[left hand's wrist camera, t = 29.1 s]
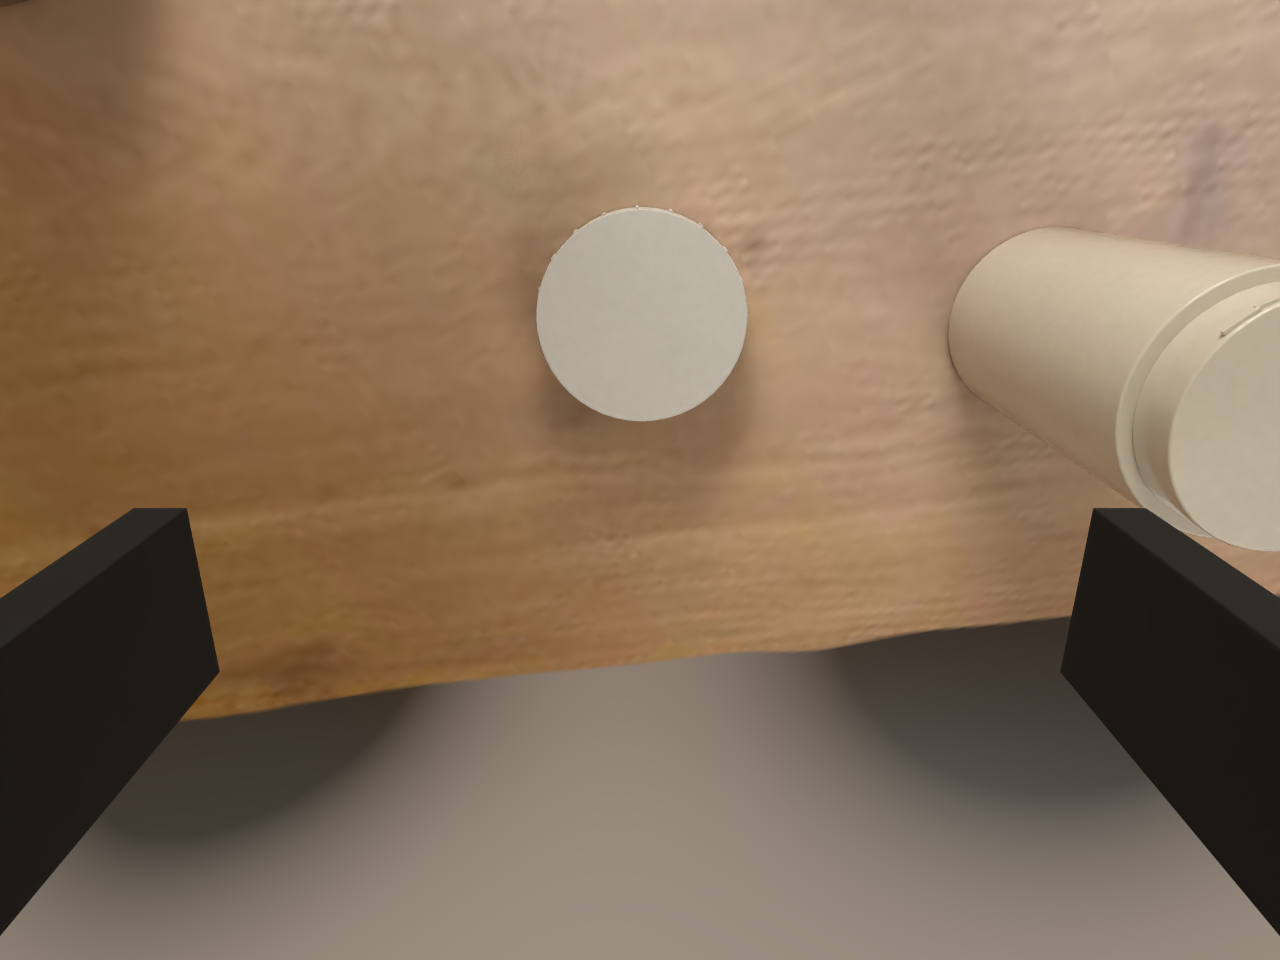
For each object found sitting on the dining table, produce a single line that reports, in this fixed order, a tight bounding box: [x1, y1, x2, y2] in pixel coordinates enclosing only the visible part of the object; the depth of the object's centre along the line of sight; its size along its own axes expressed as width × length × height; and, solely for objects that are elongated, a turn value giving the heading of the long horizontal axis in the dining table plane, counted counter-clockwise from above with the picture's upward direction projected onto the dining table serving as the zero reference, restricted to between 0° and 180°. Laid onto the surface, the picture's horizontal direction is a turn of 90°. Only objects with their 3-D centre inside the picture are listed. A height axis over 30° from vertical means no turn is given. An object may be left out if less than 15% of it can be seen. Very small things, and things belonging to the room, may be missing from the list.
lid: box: [536, 205, 748, 421], centre depth 37 cm, size 9×9×2 cm
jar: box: [948, 227, 1280, 551], centre depth 30 cm, size 8×8×16 cm
